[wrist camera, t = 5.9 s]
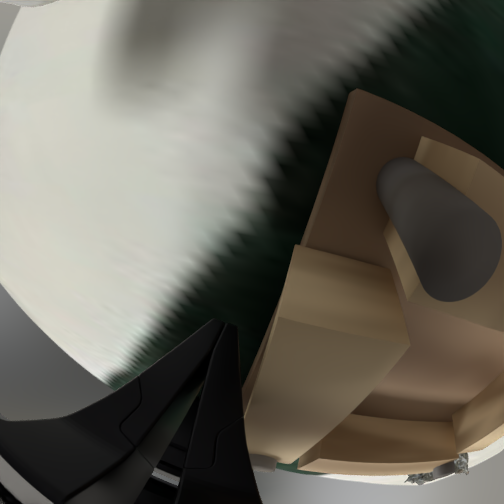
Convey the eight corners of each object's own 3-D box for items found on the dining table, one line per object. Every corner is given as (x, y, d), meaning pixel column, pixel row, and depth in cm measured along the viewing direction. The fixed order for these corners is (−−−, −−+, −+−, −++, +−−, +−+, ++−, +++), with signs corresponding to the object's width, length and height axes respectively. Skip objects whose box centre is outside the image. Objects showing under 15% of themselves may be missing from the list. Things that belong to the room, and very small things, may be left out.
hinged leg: (295, 422, 13) (283, 476, 10) (245, 411, 14) (228, 463, 11) (390, 269, 7) (414, 366, 4) (295, 244, 8) (273, 339, 5)
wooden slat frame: (438, 421, 15) (442, 480, 10) (242, 387, 16) (215, 463, 11) (580, 256, 6) (625, 317, 1) (349, 93, 7) (398, 65, 2)
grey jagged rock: (469, 449, 19) (470, 473, 15) (422, 467, 23) (421, 490, 19) (461, 435, 16) (463, 466, 13) (401, 457, 20) (400, 486, 17)
